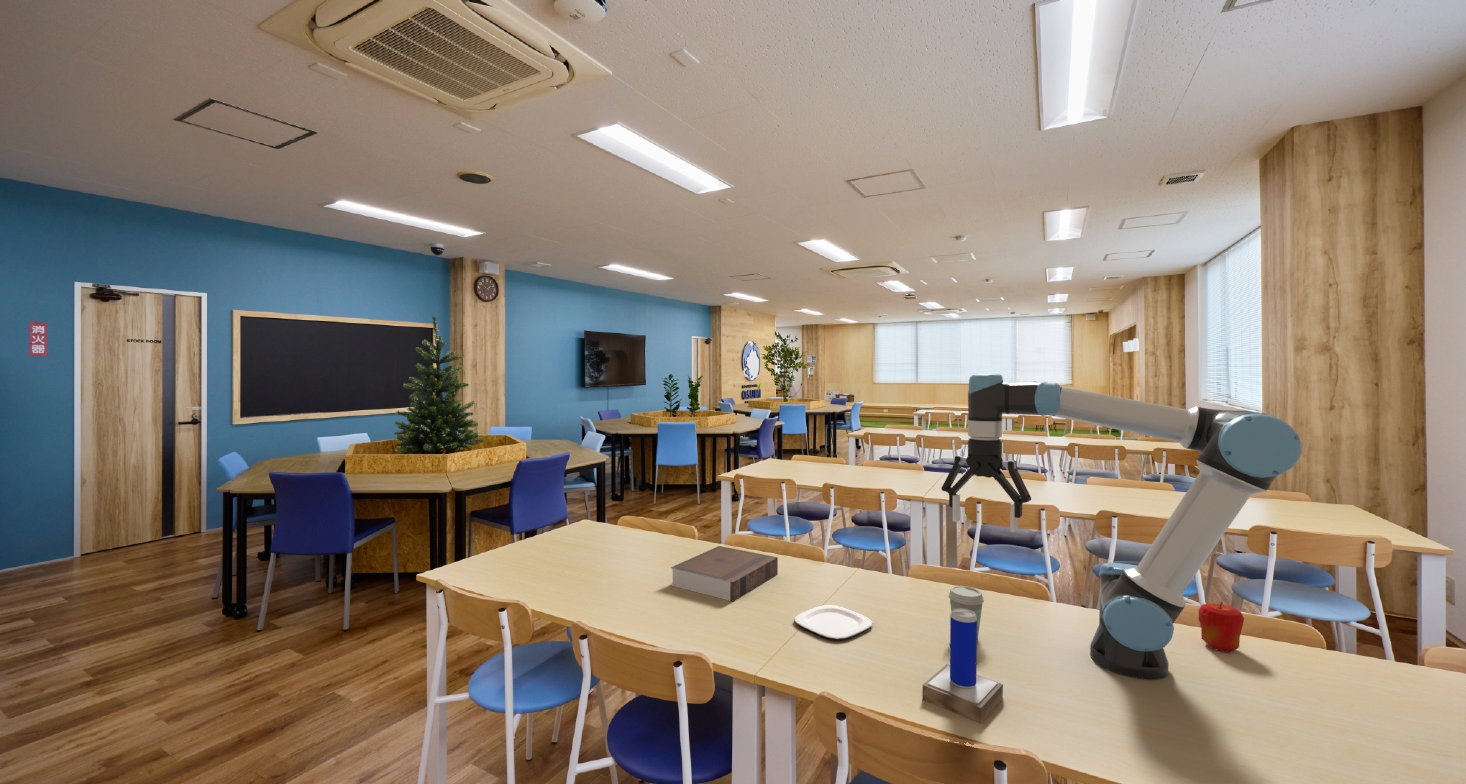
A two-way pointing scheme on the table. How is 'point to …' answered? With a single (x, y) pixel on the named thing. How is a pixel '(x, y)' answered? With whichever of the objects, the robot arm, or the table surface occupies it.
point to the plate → (833, 622)
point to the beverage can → (963, 648)
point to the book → (725, 572)
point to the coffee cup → (967, 600)
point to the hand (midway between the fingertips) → (984, 525)
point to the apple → (1221, 626)
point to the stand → (963, 695)
